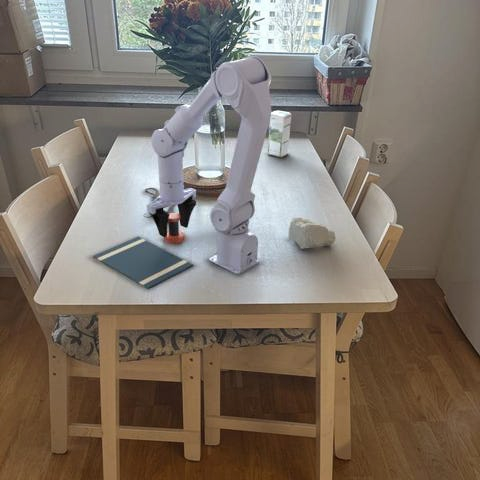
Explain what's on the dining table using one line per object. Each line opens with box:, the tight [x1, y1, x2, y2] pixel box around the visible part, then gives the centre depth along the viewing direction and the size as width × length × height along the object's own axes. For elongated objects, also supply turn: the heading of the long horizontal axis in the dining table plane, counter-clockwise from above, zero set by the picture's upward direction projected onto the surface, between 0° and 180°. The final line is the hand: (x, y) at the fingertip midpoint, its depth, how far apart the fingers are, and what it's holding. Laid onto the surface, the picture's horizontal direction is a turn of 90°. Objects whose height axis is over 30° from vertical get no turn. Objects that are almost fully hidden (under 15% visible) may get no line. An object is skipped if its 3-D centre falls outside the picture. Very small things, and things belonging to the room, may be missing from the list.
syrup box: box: [267, 110, 292, 158], centre depth 180 cm, size 6×6×14 cm
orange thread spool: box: [163, 212, 185, 245], centre depth 128 cm, size 5×5×6 cm
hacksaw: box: [143, 187, 175, 219], centre depth 145 cm, size 24×10×2 cm, turn 179°
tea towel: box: [92, 236, 194, 290], centre depth 120 cm, size 20×14×1 cm
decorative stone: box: [288, 217, 337, 250], centre depth 128 cm, size 11×9×10 cm
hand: (173, 231), depth 129 cm, fingers open, 7 cm apart
